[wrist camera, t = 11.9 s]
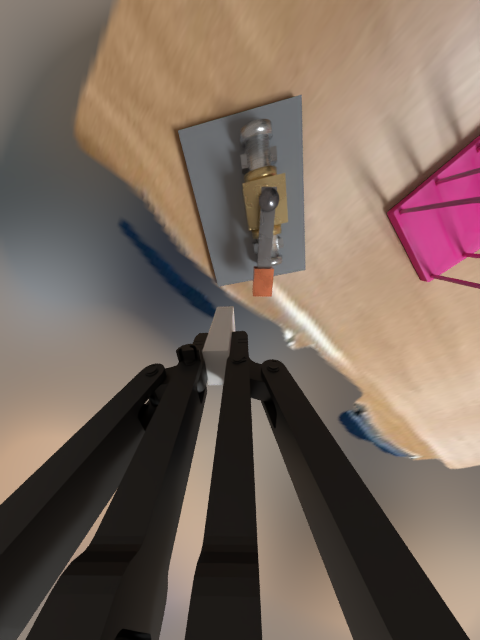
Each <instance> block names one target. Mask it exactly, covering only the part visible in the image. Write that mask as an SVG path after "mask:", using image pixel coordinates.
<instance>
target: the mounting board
mask: <svg viewBox="0 0 480 640" xmlns="http://www.w3.org/2000/svg"><path fill="white" fill-rule="evenodd" d="M258 119H269V120H270V121H271V122H272V133H273V137H272V139H271V140H270V147H272V146H276V149H277V162H276V164H275V166H276V167H277V175H278V174H282V173H285V177H286V194H287V210H288V222H287V223H282V224H281V231H282V233H280V234H278V238H283V243H284V248H280V249H279V254H280V255H282V258H283V263H281V264H278V265H275V266H272V267H273V269H274V275H273V276H276V275H281V274H287V273H292V272H297V271H302V270H305V229H304V185H303V141H302V97H301V95H299V96H295V97H292V98H288V99H285V100H282V101H278V102H275V103H271V104H268V105H264V106H261V107H257V108H254V109H251V110H247V111H244V112H240V113H237V114H233V115H230V116H226V117H223V118H220V119H216V120H213V121H209V122H206V123H202V124H199V125H196V126H192V127H189V128H185V129H182V130H178V133H179V137H180V141H181V145H182V149H183V152H184V156H185V160H186V164H187V168H188V172H189V176H190V179H191V183H192V187H193V191H194V195H195V199H196V203H197V206H198V210H199V214H200V218H201V222H202V226H203V230H204V233H205V237H206V241H207V245H208V249H209V253H210V257H211V260H212V264H213V268H214V272H215V276H216V280H217V284H218V287H219V286H224V285H229V284H234V283H240V282H245V281H250V280H253V270H254V266H257V256H258V253H256V254H255V253H254V250H253V243H257V239H253V236H252V230H251V231H248V225H247V218H246V212H245V205H244V199H243V192H242V183H245V182H244V175H245V174H247V173H244V174H242V169H241V163H240V155H242V154H245V149H243V148H242V147H241V145H240V138H239V132H240V130H241V129H242V127H244V126H245V125H246V124H248V123H250V122H252V121H254V120H258Z"/></svg>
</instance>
